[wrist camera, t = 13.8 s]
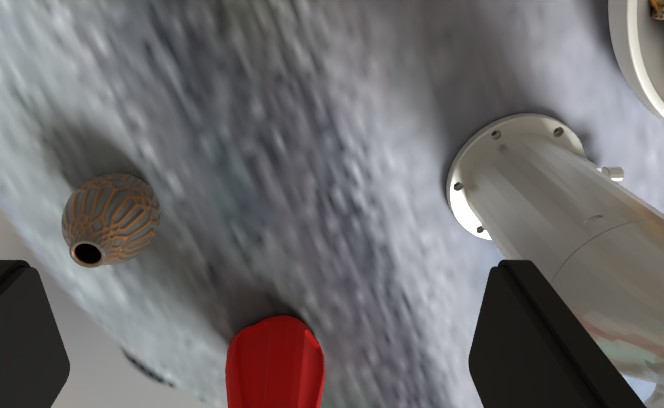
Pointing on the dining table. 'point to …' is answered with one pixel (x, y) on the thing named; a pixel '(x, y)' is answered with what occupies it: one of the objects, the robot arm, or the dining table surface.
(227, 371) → the water bottle
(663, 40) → the bowl
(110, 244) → the vase
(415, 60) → the dining table surface
